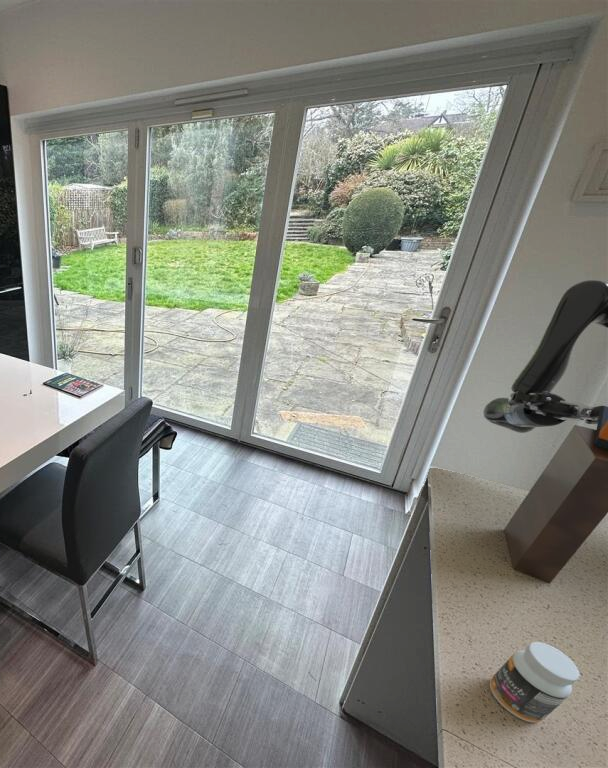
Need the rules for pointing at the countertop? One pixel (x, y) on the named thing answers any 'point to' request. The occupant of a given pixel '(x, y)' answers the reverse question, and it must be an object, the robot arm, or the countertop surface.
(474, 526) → the countertop surface
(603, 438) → the back pad
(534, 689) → the pill bottle
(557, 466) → the walnut stand
